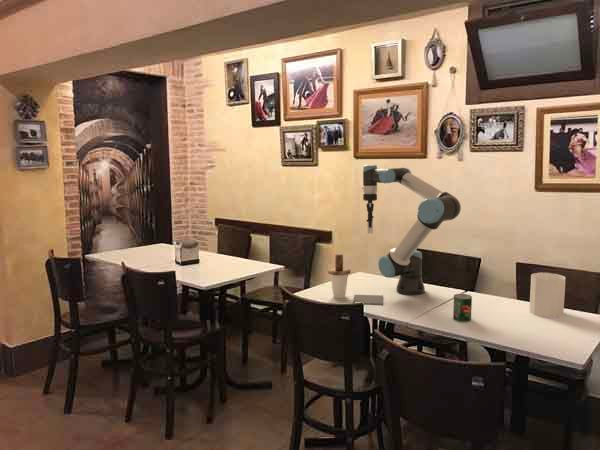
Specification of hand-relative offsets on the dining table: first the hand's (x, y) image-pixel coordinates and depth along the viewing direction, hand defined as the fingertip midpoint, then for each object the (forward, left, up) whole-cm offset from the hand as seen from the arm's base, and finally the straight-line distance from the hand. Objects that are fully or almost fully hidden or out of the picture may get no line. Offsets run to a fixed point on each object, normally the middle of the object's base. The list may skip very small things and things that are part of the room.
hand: (370, 231), depth 282 cm
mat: (0, +23, -33) cm, 40 cm away
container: (-83, +34, -33) cm, 96 cm away
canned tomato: (-43, +48, -33) cm, 73 cm away
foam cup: (+16, +17, -33) cm, 40 cm away
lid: (+16, +17, -20) cm, 31 cm away
